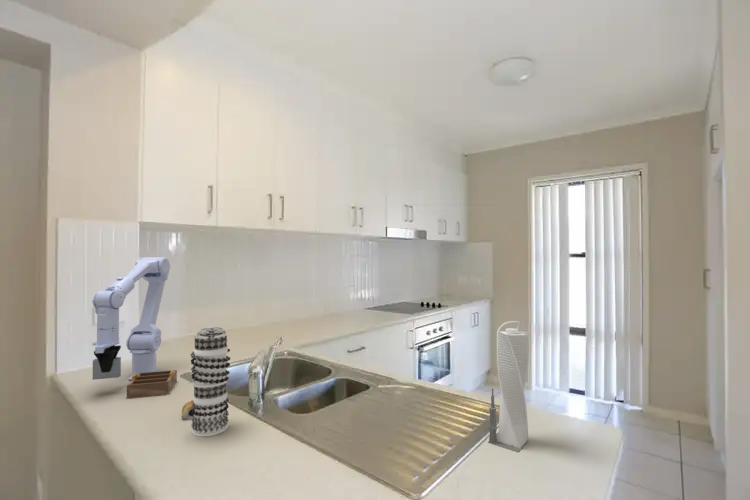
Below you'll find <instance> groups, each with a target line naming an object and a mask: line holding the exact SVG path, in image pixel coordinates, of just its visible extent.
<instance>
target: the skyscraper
mask: <svg viewBox="0 0 750 500" xmlns="http://www.w3.org/2000/svg"><path fill="white" fill-rule="evenodd" d="M513 323H514V324H515V323H516V324H517V326H516V328H512V327H508V328H505V330H501V329H502V328H503V326H505V325H508V324H513ZM520 326H521V322H520V321H518V320H508V321H505V322H503V323H502V324H501V325H500V326H499V327H498V328H497V329H496V365H497V366H496V370H497V376H498V383H499V387H500V397H499V398H500V401H499V411H498V413H499V414H498V426H497V418H496V414H497V407H496V406H495V396H494V388H491V396H490V406H489V407H488V409H489V426H488V428H489V439H488V441H487V444H491V445H493V446H497V447H499V448H503V449H506V450H510V451H512V452H515V453H519V452H521V450H522V449H523V448H524V447H525V445H526V444H527V443H528V442H529V426H528V425H529V424H528V423H529V422H528V411H527V401H526V394H525V386H526V385H525V384H526V380H527V376H528V370H529V368H528V367H529V358H530V357H529V353H530V352H529V351H530V350H529V349H530V348H529V347H530V346H529V345H530V344H529V343H530V341H529V332H528V331H524V330H523V331H521V330H519V328H520ZM497 429H498V432H497Z"/></svg>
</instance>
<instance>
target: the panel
mask: <svg viewBox="0 0 750 500" xmlns="http://www.w3.org/2000/svg"><path fill="white" fill-rule="evenodd" d="M121 364H122V357H121V356H117V357H114V358H113V360H112V366H111V370H110V372H104V373H102V372H101V368H100V364H99V361H98V359H97V358H95V359H93V360H92V380H104V379H106V380H107V379H114V378H116V379H117V378H120V377H121V372H122V366H121Z"/></svg>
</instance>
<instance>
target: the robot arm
mask: <svg viewBox="0 0 750 500" xmlns="http://www.w3.org/2000/svg"><path fill="white" fill-rule="evenodd" d="M134 265H135V266H134V267H133V268H132V269H131V270H129V272H128V273H127V274H126V275H125V276H118V277H116V280H114V281H113V282H112V283H111V284H110V285H109V286H107V288H105V289H104V290H99V291H97V293H95V294H94V296H93V299H92V306H93V307H94V313H95V314H96V341H94V342H92V344H91V346H95V347H94V351H93V355H94V356H95V358H96V359H98V361H99V364H100V368H101V372H102V373H104V372H110V370H111V366H112V360H113V358H114V357H118V354H119V351H120V350H121V348H122V345H119V344H120V335H119V334H120V308H121V307H122V306H123V305H124V303H125V299H126V296H128V295H129V293H131V292H132V291H134V289H135V286H136V285H135V283H136V282H138V281H139V280H141V278H143V280H144V281H147V282H148V286H147V290H146V295H145V299H144V303H143V306H142V311H141V316H140V319H139V324H137V325H136V326H135V327H133V328H132V329H130V334H129V335H128V337H127V339H126V342H125V344H126V348H127V350H128V351H129V353H130V354H131V375H130V376H129V377H128V378H127V380H128V381H132V376H133V375H134V374H137V373H138V374H139V373H145V372H157V371H160V369H157V352H156V351H158V349H159V348H160V346H161V344H162V338H161V337H162V330H161V329H160V328H159V327H158V326H157V325H156V323H157V320H158V319H157V318H158V314H159V310H160V306H161V302H162V297H163V293H164V289H165V285H166V281H167V280H168V277H169V273H170V270H171V264H170V261H169V260H168V257H166V256H162V257H161V256H160V257H157V256H156V257H154V256H153V257H150V256H148V257H144V256H140V257H139V258H138V259H137V260H135V263H134Z"/></svg>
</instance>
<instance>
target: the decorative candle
mask: <svg viewBox="0 0 750 500" xmlns="http://www.w3.org/2000/svg"><path fill="white" fill-rule="evenodd" d="M225 330H226V329H224V328H221V327H218V326H217V327H216V326H215V327H204V328H201V329H200V330H198V331H197V333H196V334H195V335H194V336H193V338H194V348H193V351H192V352H191V353H190V356H191V359H190V364H191V365H193V366H192V367H191V368H190V370H191V379H192V380H193V381H192V386H193V396H192V397H193V398H192V400H193V403H192V407H193V408H194V409H192V414H194V415H193V416H192V418H191V419H190V420H191V421H192V422H191V428H192V429H191V432H192V433H191V434H192V435H193V436H196V437H202V438H203V437H211V436H216V435H219V434H221V433H223V432H225V431H227V429H228V427H229V423H228V422H229V417H228V416H229V410H228V409H229V404H228V403H229V397H228V391H227V388H228V387H227V386H228V385H227V383H228V382H229V379H230V377H228V375H229V374H230V371H229V370H228V369H227V368H229V367H230V366H231V363H230V362H229V361H230V360H231V357H230V356H228V355H227V354H228V353H229V352H230V351H231V350H230V348H229V346H228V344H227V343H228V338H227V337H228V336H229V333H228V332H226V331H225Z"/></svg>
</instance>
